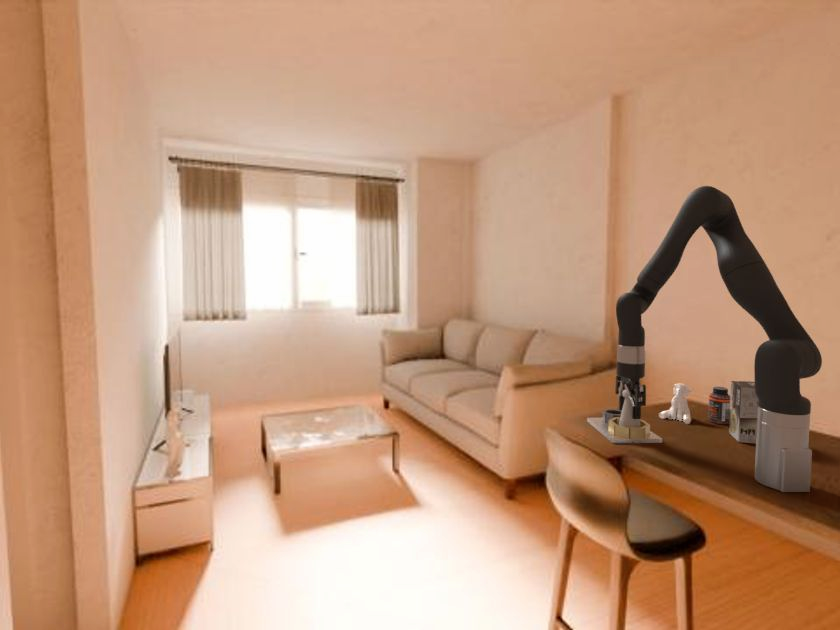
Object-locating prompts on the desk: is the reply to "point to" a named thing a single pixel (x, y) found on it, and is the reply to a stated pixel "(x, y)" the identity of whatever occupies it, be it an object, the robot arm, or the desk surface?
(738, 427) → the coffee box
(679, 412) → the sitting furry creature
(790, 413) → the robot arm
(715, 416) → the supplement bottle
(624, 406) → the salt shaker
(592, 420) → the fitting plate
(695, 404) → the desk surface
